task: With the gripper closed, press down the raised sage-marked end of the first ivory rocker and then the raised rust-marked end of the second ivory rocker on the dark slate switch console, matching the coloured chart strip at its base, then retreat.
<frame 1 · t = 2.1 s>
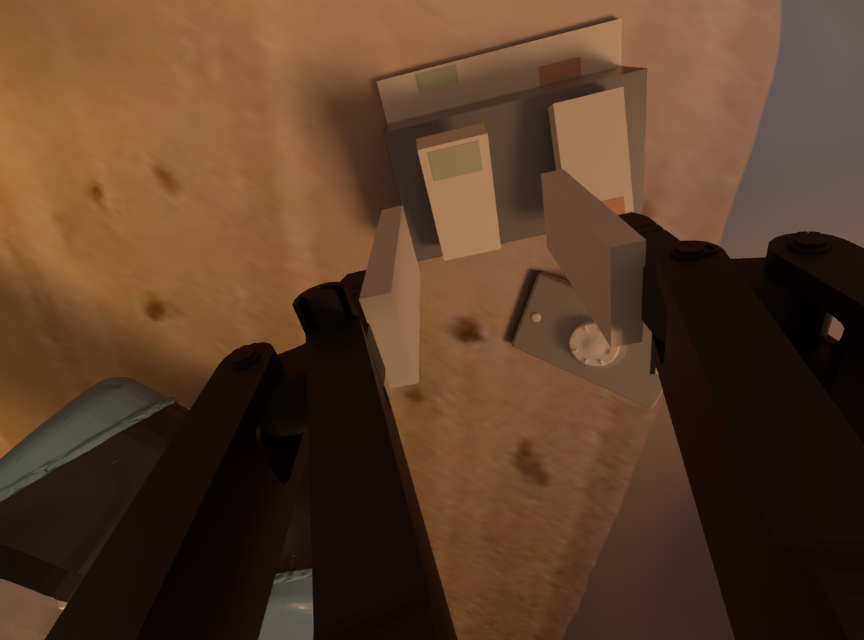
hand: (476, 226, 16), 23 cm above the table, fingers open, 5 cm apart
light switch: (582, 317, 45), on the table
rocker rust: (592, 168, 30), point 7 cm above the table, hinge at -15.0°
rocker sage: (462, 198, 31), point 7 cm above the table, hinge at 15.0°
console: (508, 160, 36), on the table
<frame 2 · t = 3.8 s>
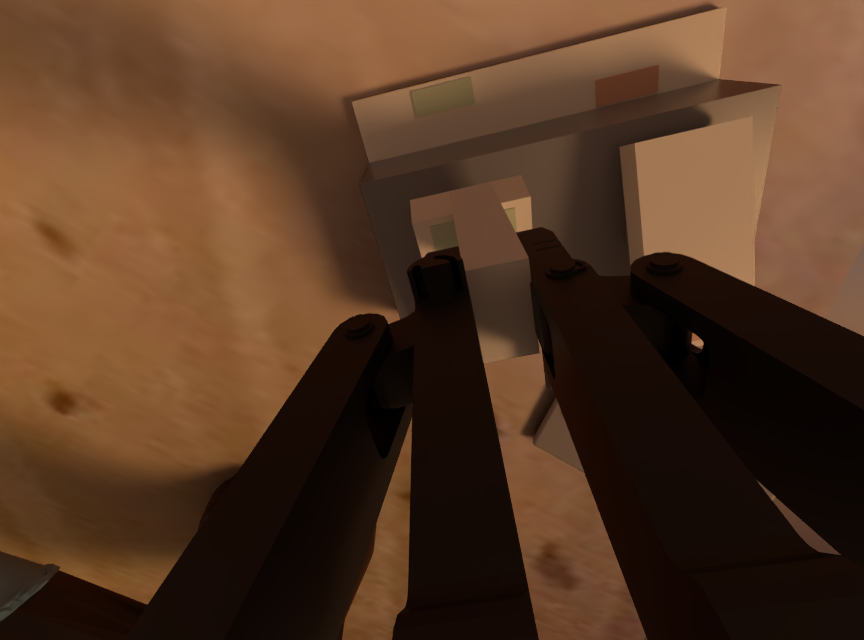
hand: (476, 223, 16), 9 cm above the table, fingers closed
light switch: (626, 410, 34), on the table
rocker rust: (688, 242, 19), point 7 cm above the table, hinge at -15.0°
rocker sage: (482, 285, 20), point 7 cm above the table, hinge at 14.9°, touching gripper
console: (543, 212, 26), on the table
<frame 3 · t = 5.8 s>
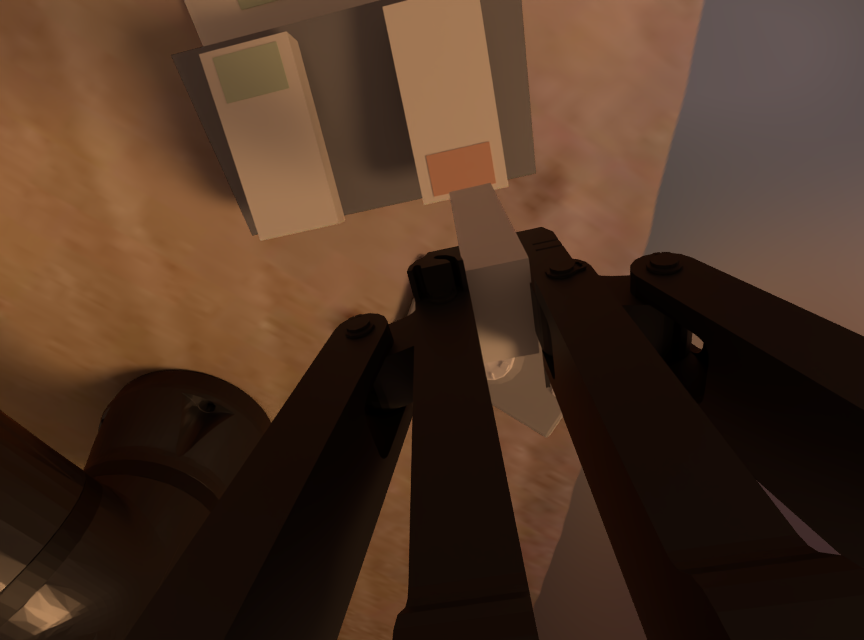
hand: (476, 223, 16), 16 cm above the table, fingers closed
light switch: (483, 320, 38), on the table
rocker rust: (448, 104, 22), point 7 cm above the table, hinge at -15.0°
rocker sage: (278, 144, 23), point 7 cm above the table, hinge at -13.7°
console: (374, 108, 29), on the table
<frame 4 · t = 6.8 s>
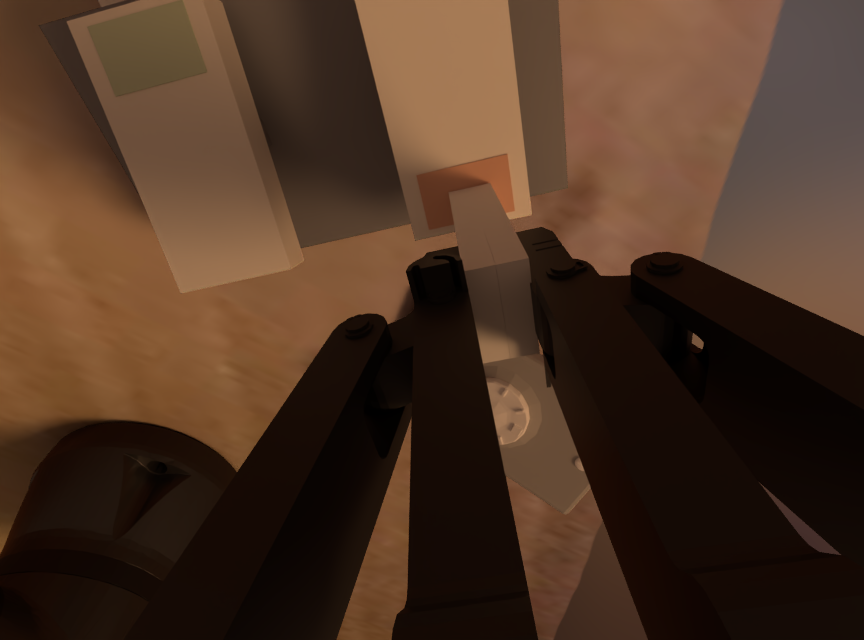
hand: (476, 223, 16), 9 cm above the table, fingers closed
light switch: (488, 362, 31), on the table
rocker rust: (447, 94, 15), point 7 cm above the table, hinge at -3.7°, touching gripper
rocker sage: (200, 155, 16), point 7 cm above the table, hinge at -14.2°
console: (348, 100, 21), on the table
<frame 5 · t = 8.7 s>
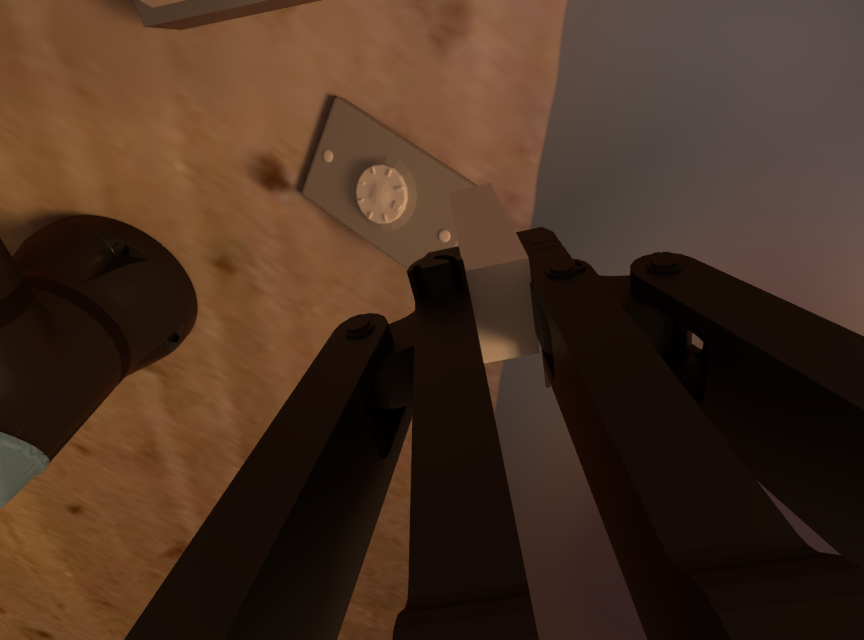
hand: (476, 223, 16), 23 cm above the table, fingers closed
light switch: (391, 181, 38), on the table
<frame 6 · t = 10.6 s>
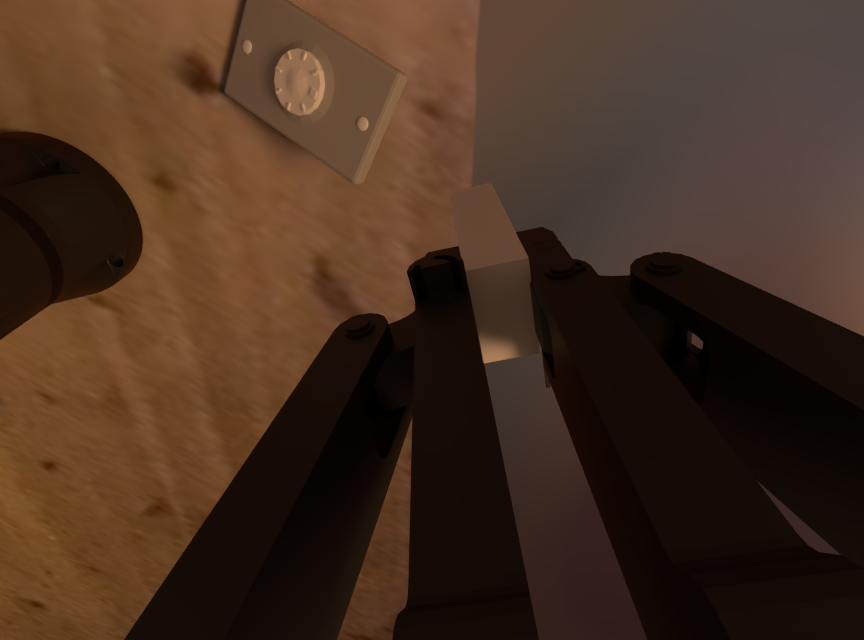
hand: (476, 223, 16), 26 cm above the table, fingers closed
light switch: (319, 82, 37), on the table
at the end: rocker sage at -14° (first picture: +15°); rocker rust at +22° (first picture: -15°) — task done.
